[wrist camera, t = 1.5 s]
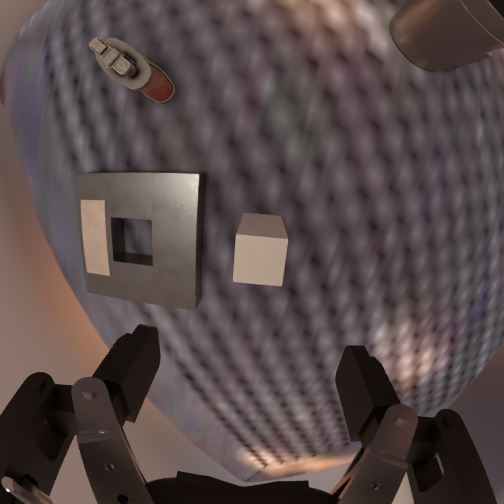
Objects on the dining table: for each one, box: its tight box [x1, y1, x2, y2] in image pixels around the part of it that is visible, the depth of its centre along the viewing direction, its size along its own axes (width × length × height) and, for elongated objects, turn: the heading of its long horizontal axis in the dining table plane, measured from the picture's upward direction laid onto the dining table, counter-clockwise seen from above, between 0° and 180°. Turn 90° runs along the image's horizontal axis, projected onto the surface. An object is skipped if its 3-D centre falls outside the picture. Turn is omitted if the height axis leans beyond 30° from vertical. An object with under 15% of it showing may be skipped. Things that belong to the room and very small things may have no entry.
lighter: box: [89, 37, 177, 104], centre depth 20 cm, size 8×3×10 cm, turn 43°
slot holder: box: [77, 171, 205, 310], centre depth 29 cm, size 15×15×3 cm
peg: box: [233, 212, 288, 286], centre depth 26 cm, size 4×4×9 cm
